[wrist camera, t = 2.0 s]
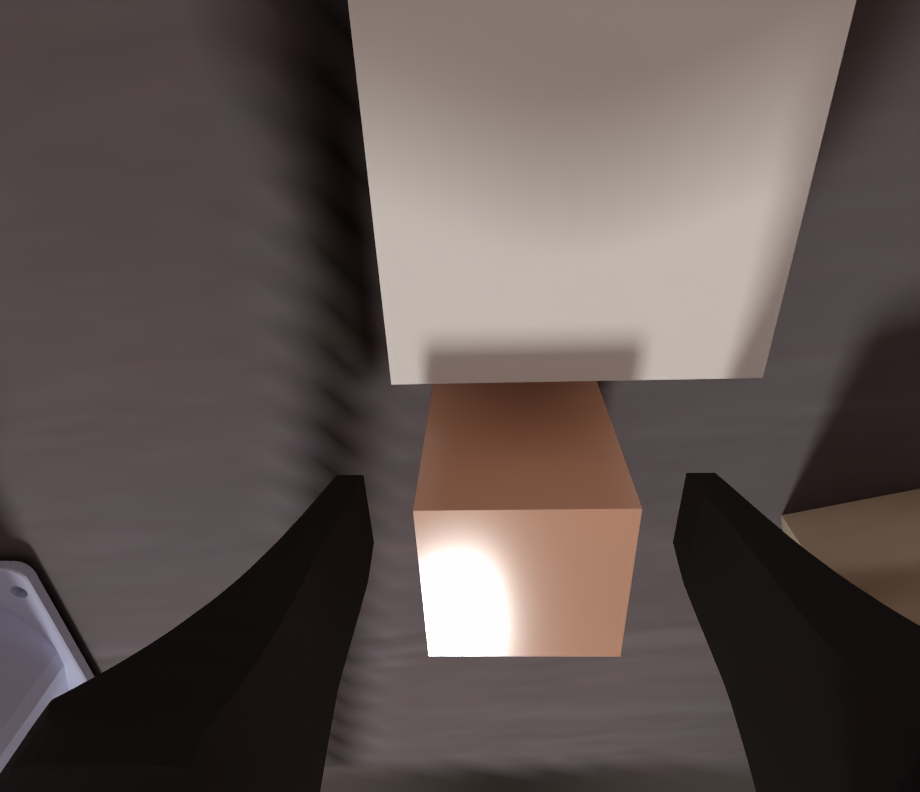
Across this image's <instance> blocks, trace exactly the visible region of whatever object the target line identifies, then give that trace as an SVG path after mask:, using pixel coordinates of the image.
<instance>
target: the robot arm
mask: <svg viewBox="0 0 920 792" xmlns="http://www.w3.org/2000/svg"><path fill="white" fill-rule="evenodd" d="M373 544H374V541H373V534H372V528H371V521H370V515H369V508H368V502H367V496H366V489H365V483H364V476H363V475H337V476H336V477H335V478H334V479H333V480H332V481H331V482H330V483H329V485H328V486H327V487H326V488H325V489H324V490H323V492H322V493H321V494H320V495H319V496H318V497H317V499H316V500H315V501H314V502H313V503H312V504H311V505H310V507H309V508H308V509H307V510H306V511H305V512H304V513H303V515H302V516H301V517H300V518H299V519H298V520H297V521H296V522H295V523H294V524H293V526H292V527H291V528H290V529H289V530H288V531H287V532H286V533H285V534H284V535H283V536H282V537H281V538H280V540H279V541H278V542H277V543H276V544H275V545H274V546H273V547H272V548H271V549H269V550H268V551H267V552H266V553H265V554H264V555H263V556H262V557H261V558H260V559H259V560H258V561H257V562H256V563H255V564H254V565H253V566H252V567H251V568H250V569H249V570H248V571H247V572H246V573H244V574H243V575H242V576H241V577H240V578H239V579H238V580H237V581H235V582H234V583H233V584H232V585H231V586H230V587H228V588H227V589H226V590H225V591H223V592H222V593H221V594H220V595H219V596H217V597H216V598H215V599H214V600H212V601H211V602H210V603H208V604H207V605H206V606H204V607H203V608H201V609H200V610H199V611H197V612H196V613H195V614H193V615H192V616H190V617H189V618H188V619H186V620H185V621H184V622H182V623H181V624H179V625H178V626H177V627H175V628H174V629H172V630H171V631H170V632H168V633H167V634H165V635H164V636H162V637H160V638H159V639H157V640H156V641H154V642H153V643H151V644H150V645H148V646H147V647H145V648H143V649H142V650H140V651H138V652H137V653H135V654H134V655H132V656H130V657H129V658H127V659H125V660H124V661H122V662H120V663H119V664H117V665H115V666H113V667H112V668H110V669H108V670H106V671H104V672H103V673H101V674H99V675H97V676H95V677H94V675H93V673H92V671H91V670H90V668H89V666H88V664H87V662H86V661H85V659H84V657H83V655H82V654H81V652H80V650H79V648H78V647H77V645H76V643H75V641H74V640H73V638H72V636H71V634H70V632H69V631H68V629H67V627H66V625H65V624H64V622H63V620H62V618H61V617H60V615H59V613H58V611H57V609H56V608H55V606H54V604H53V602H52V601H51V599H50V597H49V595H48V594H47V592H46V590H45V588H44V587H43V585H42V583H41V581H40V579H39V578H38V576H37V574H36V572H35V571H34V570H33V568H32V567H30V566H29V565H27V564H25V563H23V562H19V561H0V792H320V789H321V783H322V777H323V771H324V765H325V759H326V753H327V747H328V741H329V735H330V730H331V724H332V719H333V713H334V708H335V702H336V697H337V692H338V688H339V684H340V680H341V675H342V672H343V668H344V665H345V661H346V658H347V654H348V651H349V647H350V644H351V640H352V637H353V633H354V630H355V626H356V623H357V619H358V616H359V612H360V609H361V605H362V601H363V598H364V594H365V591H366V587H367V583H368V577H369V571H370V565H371V558H372V551H373ZM673 544H674V548H675V552H676V556H677V560H678V564H679V568H680V571H681V575H682V579H683V582H684V586H685V588H686V591H687V593H688V596H689V598H690V601H691V603H692V606H693V608H694V611H695V613H696V616H697V618H698V621H699V623H700V626H701V628H702V630H703V633H704V635H705V638H706V640H707V643H708V645H709V647H710V650H711V652H712V655H713V657H714V660H715V662H716V665H717V667H718V669H719V672H720V674H721V677H722V679H723V682H724V685H725V688H726V690H727V693H728V696H729V699H730V702H731V705H732V708H733V712H734V715H735V718H736V722H737V725H738V728H739V732H740V735H741V738H742V742H743V745H744V749H745V752H746V756H747V760H748V763H749V767H750V770H751V774H752V778H753V781H754V785H755V789H756V792H920V625H918V624H916V623H915V622H913V621H911V620H909V619H908V618H906V617H904V616H902V615H901V614H899V613H898V612H896V611H894V610H893V609H891V608H889V607H888V606H886V605H884V604H883V603H881V602H880V601H878V600H877V599H875V598H874V597H872V596H871V595H869V594H868V593H866V592H865V591H863V590H861V589H860V588H858V587H857V586H855V585H854V584H852V583H851V582H849V581H848V580H846V579H845V578H844V577H842V576H841V575H839V574H838V573H836V572H835V571H834V570H832V569H831V568H830V567H828V566H827V565H826V564H824V563H823V562H822V561H820V560H819V559H818V558H816V557H815V556H814V555H812V554H811V553H810V552H808V551H807V550H806V549H804V548H803V547H802V546H801V545H799V544H798V543H797V542H796V541H794V540H793V539H792V538H791V537H789V536H788V535H787V534H786V533H784V532H783V531H782V530H781V529H780V528H778V527H777V526H776V525H775V524H774V523H772V522H771V521H770V520H769V519H768V518H767V517H765V516H764V515H763V514H762V513H761V512H760V511H758V510H757V509H756V508H755V507H754V506H753V505H751V504H750V503H749V502H748V501H747V500H746V499H745V498H743V497H742V496H741V495H740V494H739V493H738V492H737V491H735V490H734V489H733V488H732V487H731V486H730V485H729V484H727V483H726V482H725V481H724V480H723V479H722V478H720V477H719V476H718V475H717V474H716V473H686V478H685V483H684V488H683V494H682V499H681V504H680V509H679V514H678V520H677V525H676V530H675V535H674V540H673Z"/></svg>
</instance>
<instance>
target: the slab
mask: <svg viewBox="0 0 920 792" xmlns="http://www.w3.org/2000/svg"><path fill="white" fill-rule="evenodd" d="M855 4H856V0H348V7H349V16H350V24H351V33H352V42H353V51H354V60H355V68H356V77H357V86H358V95H359V104H360V112H361V121H362V130H363V139H364V147H365V156H366V165H367V174H368V183H369V191H370V200H371V209H372V218H373V227H374V235H375V244H376V253H377V262H378V271H379V279H380V288H381V297H382V306H383V315H384V323H385V332H386V341H387V350H388V358H389V367H390V376H391V385H394V384H450V383H505V382H561V381H617V380H673V379H729V378H763V375H764V371H765V367H766V363H767V359H768V355H769V351H770V346H771V342H772V338H773V334H774V330H775V326H776V322H777V318H778V314H779V310H780V306H781V302H782V298H783V294H784V290H785V286H786V282H787V278H788V274H789V270H790V266H791V262H792V258H793V254H794V250H795V246H796V242H797V238H798V234H799V230H800V226H801V222H802V217H803V213H804V209H805V205H806V201H807V197H808V193H809V189H810V185H811V181H812V177H813V173H814V169H815V165H816V161H817V157H818V153H819V149H820V145H821V141H822V137H823V133H824V129H825V125H826V121H827V117H828V113H829V109H830V105H831V101H832V97H833V93H834V88H835V84H836V80H837V76H838V72H839V68H840V64H841V60H842V56H843V52H844V48H845V44H846V40H847V36H848V32H849V28H850V24H851V20H852V16H853V12H854V8H855Z"/></svg>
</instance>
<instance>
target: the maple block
mask: <svg viewBox="0 0 920 792" xmlns="http://www.w3.org/2000/svg"><path fill="white" fill-rule="evenodd" d="M781 517H782V531H783V532H784V533H786V534H787V535H788V536H789V537H791V538H792V539H793V540H794V541H796V542H797V543H798V544H799V545H801V546H802V547H803V548H804V549H806V550H807V551H808V552H810V553H811V554H812V555H814V556H815V557H816V558H818V559H819V560H820V561H822V562H823V563H824V564H826V565H827V566H828V567H830V568H831V569H832V570H834V571H835V572H836V573H838V574H839V575H841V576H842V577H844V578H845V579H846V580H848V581H849V582H851V583H852V584H854V585H855V586H857V587H858V588H860V589H861V590H863V591H865V592H866V593H868V594H869V595H871V596H872V597H874V598H875V599H877V600H878V601H880V602H881V603H883V604H884V605H886V606H888V607H889V608H891V609H893V610H894V611H896V612H898V613H899V614H901V615H902V616H904V617H906V618H908V619H909V620H911V621H913V622H915V623H916V624H918V625H920V489H916V490H910V491H905V492H900V493H895V494H890V495H885V496H879V497H874V498H869V499H864V500H859V501H854V502H848V503H843V504H838V505H833V506H828V507H822V508H817V509H812V510H807V511H802V512H797V513H791V514H786V515H781Z"/></svg>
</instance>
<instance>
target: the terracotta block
mask: <svg viewBox="0 0 920 792" xmlns="http://www.w3.org/2000/svg"><path fill="white" fill-rule="evenodd" d="M641 513H642V507H641V504H640V501H639V498H638V496H637V493H636V490H635V487H634V484H633V481H632V479H631V476H630V473H629V470H628V467H627V465H626V462H625V459H624V456H623V453H622V451H621V448H620V445H619V442H618V439H617V437H616V434H615V431H614V428H613V425H612V422H611V420H610V417H609V414H608V411H607V408H606V406H605V403H604V400H603V397H602V394H601V392H600V389H599V386H598V383H597V381H561V382H505V383H450V384H433V388H432V394H431V401H430V407H429V413H428V420H427V426H426V432H425V439H424V445H423V451H422V458H421V464H420V470H419V477H418V483H417V489H416V496H415V502H414V508H413V514H414V524H415V533H416V542H417V551H418V560H419V570H420V579H421V588H422V597H423V606H424V616H425V625H426V634H427V643H428V653H429V656H574V657H620V655H621V649H622V642H623V635H624V628H625V622H626V615H627V608H628V601H629V595H630V588H631V581H632V574H633V567H634V561H635V554H636V547H637V540H638V534H639V527H640V520H641Z"/></svg>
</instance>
